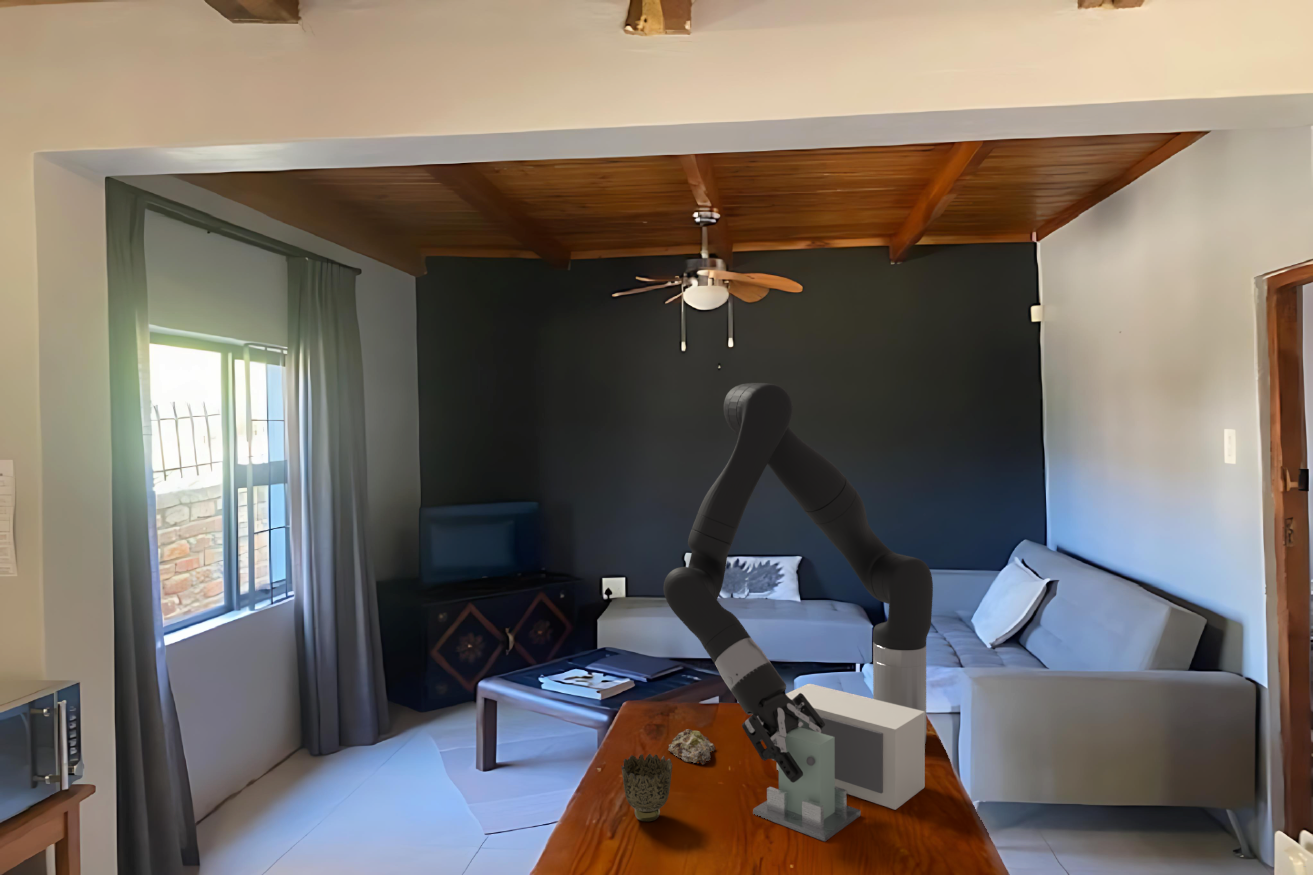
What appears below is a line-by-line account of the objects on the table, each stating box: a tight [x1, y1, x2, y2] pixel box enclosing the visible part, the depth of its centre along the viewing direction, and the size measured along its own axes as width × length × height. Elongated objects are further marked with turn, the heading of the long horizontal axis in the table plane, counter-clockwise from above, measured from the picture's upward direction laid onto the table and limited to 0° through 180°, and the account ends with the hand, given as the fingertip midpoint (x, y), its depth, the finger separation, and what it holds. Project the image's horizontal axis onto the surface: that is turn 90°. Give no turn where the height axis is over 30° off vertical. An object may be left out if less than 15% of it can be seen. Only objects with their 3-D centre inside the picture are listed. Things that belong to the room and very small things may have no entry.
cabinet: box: [776, 683, 926, 810], centre depth 134 cm, size 10×21×12 cm, turn 48°
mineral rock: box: [667, 728, 716, 765], centre depth 145 cm, size 11×4×8 cm
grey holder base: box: [752, 786, 861, 842], centre depth 122 cm, size 10×12×4 cm
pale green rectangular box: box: [778, 727, 835, 819], centre depth 122 cm, size 5×7×11 cm
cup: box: [620, 753, 673, 822], centre depth 122 cm, size 8×7×8 cm
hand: (814, 769), depth 121 cm, fingers open, 8 cm apart
